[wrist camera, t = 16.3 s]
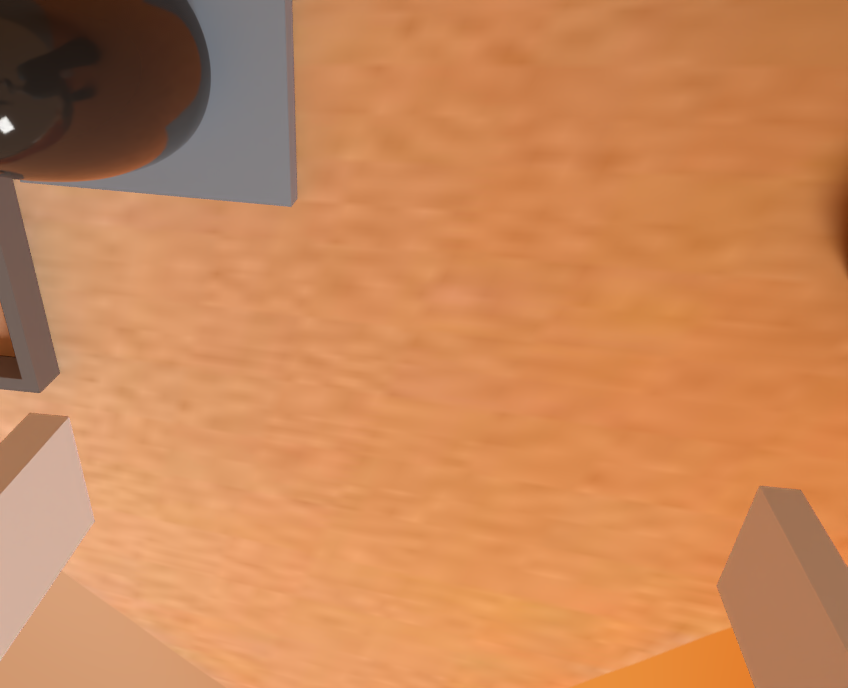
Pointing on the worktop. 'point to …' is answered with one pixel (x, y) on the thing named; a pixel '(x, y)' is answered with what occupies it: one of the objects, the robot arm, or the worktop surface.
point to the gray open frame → (22, 305)
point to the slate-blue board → (234, 114)
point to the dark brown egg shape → (98, 86)
